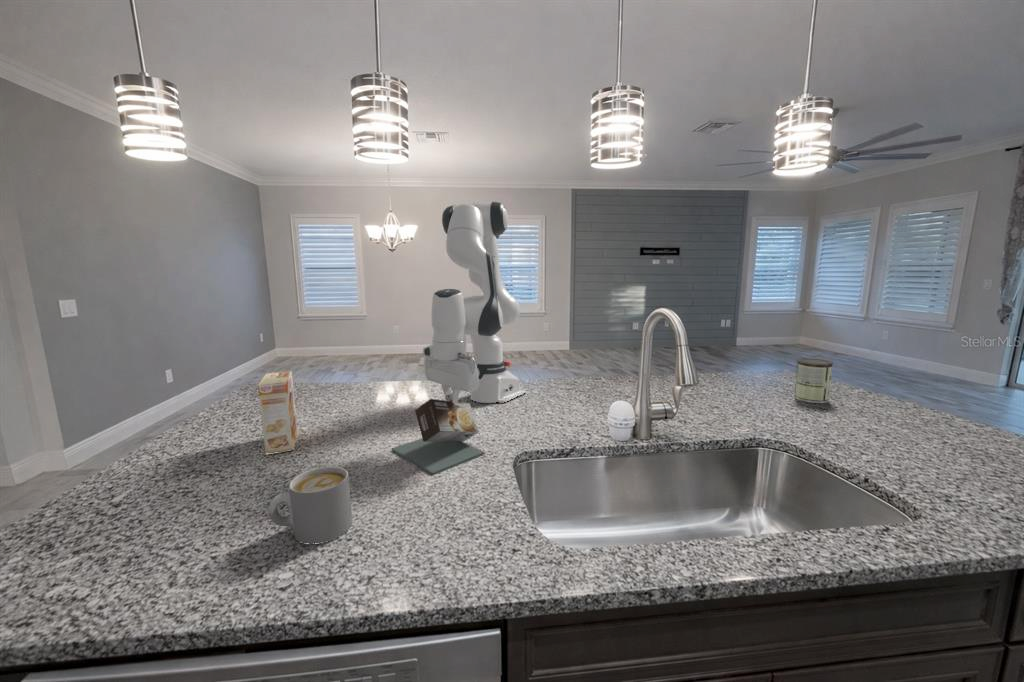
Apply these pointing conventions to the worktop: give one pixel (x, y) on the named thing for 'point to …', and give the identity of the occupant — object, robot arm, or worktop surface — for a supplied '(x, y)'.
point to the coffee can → (813, 380)
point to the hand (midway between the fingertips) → (451, 401)
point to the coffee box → (446, 421)
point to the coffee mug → (316, 505)
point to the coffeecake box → (278, 411)
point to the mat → (437, 454)
